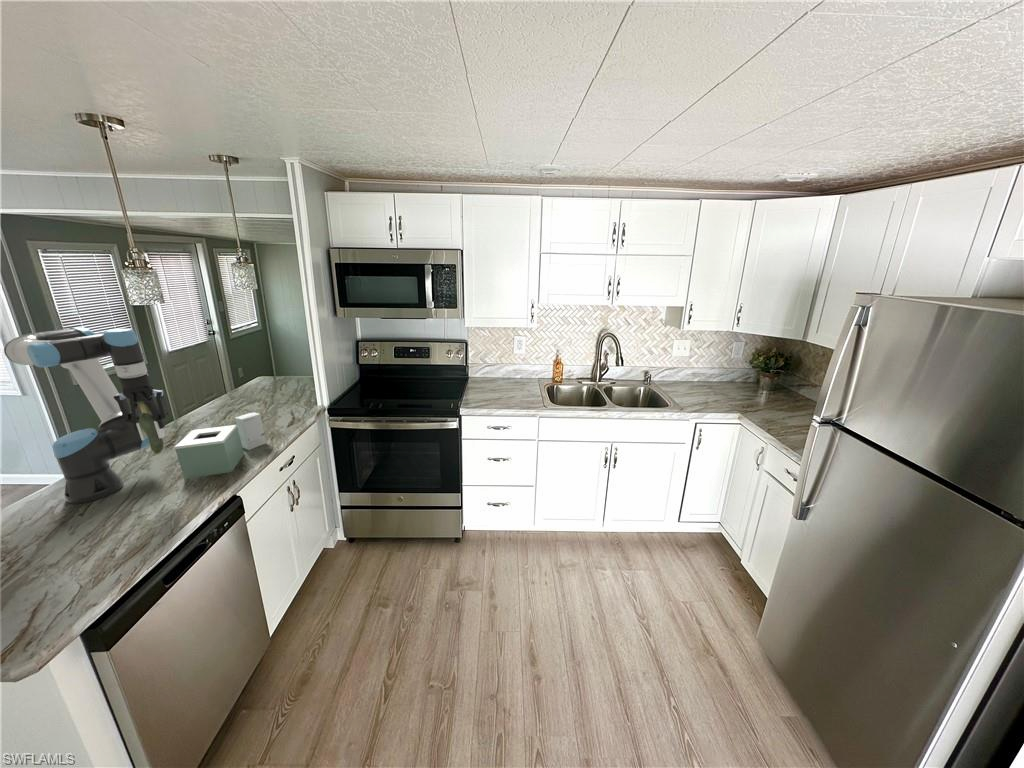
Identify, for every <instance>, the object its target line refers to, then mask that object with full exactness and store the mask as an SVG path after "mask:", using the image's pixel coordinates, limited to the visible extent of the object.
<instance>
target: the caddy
mask: <svg viewBox="0 0 1024 768" xmlns="http://www.w3.org/2000/svg"><path fill="white" fill-rule="evenodd" d="M174 449H175V452H176V456H177V458H178V463H179V465H180V468H181V472H182V475H183V478H184V480H187V479H193V478H194V477H195V478H200V477H206V476H213V475H214V476H215V475H221V473H222V474H227V473H232V472H233V471H234V469H235V468H236V466H237V465H238V464H239V462H240V461H241V459H242V457H243V456H245V452H244V448H243V447H242V444H241V440H240V436H239V432H238V428H237V424H230V425H223V426H215V427H206V428H199V429H192V430H191V431H190V432H189V433H187V434H186V436H185V437H183V438H182V439H181V440H180V441H179V442H178V443H177V444H175V446H174Z"/></svg>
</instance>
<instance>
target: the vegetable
mask: <svg viewBox="0 0 1024 768" xmlns="http://www.w3.org/2000/svg"><path fill="white" fill-rule="evenodd" d="M138 407H139V410H140V411H141V414H140V417H139V422H140V424H141V426H142V428H143V430H144V431H145V433H146V434H147V436H148V439H149V443H150V446H149V447H150V450H151V451H152V453H154V455H159V454H161V452H162V451H163V449H164V440H163V437H162V438H159V437H158V434H157V430H156V427H155V424H154V421H155V420H156V419H155V418H154V416H153V415H152V413H151V412H150V410H149V408H148V407H147V405H146V404H144V403H140V402H139V403H138V404H137V408H138Z"/></svg>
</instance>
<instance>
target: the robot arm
mask: <svg viewBox="0 0 1024 768" xmlns="http://www.w3.org/2000/svg"><path fill="white" fill-rule="evenodd" d="M3 353H4V356H5V357H6V358H7V359H8V360H9V361H11V362H12V363H14V364H18V365H21V366H22V365H23V366H35V367H37V368H47V367H49V368H50V367H56V366H59V365H60V366H61V367H62V368H64V369H67V370H70V372H71V374H72V376H73V377H74V378H75V381H76V382H77V384H78V385H79V387H80V389H81V390H82V392H83V394H84V395H85V397H86V398H87V400H88V402H89V403H90V405H91V407H92V409H93V410H94V411H95V413H96V414H97V416H98V418H99V420H100V421H101V422H100V424H98V428H99V430H97V429H95V428H93V427H90V428H89V427H88V428H84V429H79V430H76V431H73V432H70V433H67V434H65V435H63V436H61V437H59V438H58V439H57V440H55V441H54V442H53V443H52V450H53V454H54V458H55V459H56V461H57V463H58V465H59V468H60V470H61V473H62V474H63V477H64V480H65V487H64V499H65V501H66V502H67V503H68V504H75V505H76V504H78V505H79V504H84V503H89V502H90V503H91V502H93V501H97V500H99V499H103V498H106V497H108V496H110V495H112V494H114V493H115V492H117V491H118V490H120V489H122V487H124V481H123V479H122V477H121V476H119V474H118V473H117V471H115V470H114V469H113V468H112V467H111V465H110V463H109V462H110V460H113V459H116V458H120V457H121V456H125V455H129V454H131V453H134V452H137V451H141V450H142V449H145V448H148V447H150V443H149V439H148V436H147V434H146V433H145V431H144V430H143V428H142V426H141V424H140V422H139V417H140V415H141V414H140V406H139V407H138V408H137V404H138V403H140V402H143V404H144V405H145V406H146V407H147V409H148V410H149V412H150V413H152V415H153V416H154V418H155V419H156V420H155V421H154V424H155V427H156V430H157V434H158V437H159V438H162V439H163V438H164V437H165V436H166V433H165V430H164V428H165V427H166V424H165V421H164V419H166V418H167V417H169V415H170V414H169V411H168V406H167V403H166V399H165V390H164V389H161V390H160V389H155V388H154V387H153V385H152V382H151V377H150V375H149V374H148V369H147V365H146V362H145V359H144V357H143V353H142V350H141V346H140V343H139V339H138V337H137V334H136V332H135V330H133V329H132V328H114V329H109V330H105V332H97V333H95V332H93V331H92V330H91V329H90V328H87V327H69V328H65V329H58V330H48V331H40V332H31V333H26V334H22V335H20V336H17V337H14V338H13V339H10V340H9V341H7V343H6V344H5V346H4V348H3ZM105 357H110V359H111V360H112V363H113V366H114V370H115V373H116V375H117V377H119V378H118V381H119V384H120V387H121V389H122V391H121V393H119V391H118V390H117V389H118V388H117V387H116V386H115V384H114V383H113V381H112V380H111V378H110V376H109V375H108V372H107V371H106V370H105V368H104V367H103V365H102V363H101V360H102V359H103V358H105ZM153 396H154V397H155V400H156V401H154V397H153ZM126 398H127V399H128V400H129V404H128V401H127V399H126ZM155 402H156V403H157V404H156V403H155ZM129 405H130V407H129Z"/></svg>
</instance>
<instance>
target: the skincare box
mask: <svg viewBox="0 0 1024 768" xmlns="http://www.w3.org/2000/svg"><path fill="white" fill-rule="evenodd" d="M234 420H235V423H236V424H235V425H237V428H238V432H239V436H240V440H241V444H242V447H243V449H245V450H248V451H251V450H252V449H255V448H258V447H261V446H263V445H266V444H267V440H266V434H265V430H264V425H263V422H262V416H261V413H258V412H254V411H253V412H249V413H246V414H242V415H240V416H239V415H238V416H236V417H234Z"/></svg>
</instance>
